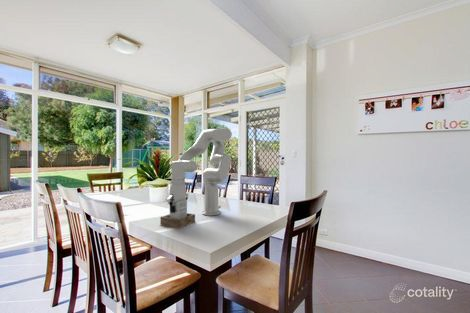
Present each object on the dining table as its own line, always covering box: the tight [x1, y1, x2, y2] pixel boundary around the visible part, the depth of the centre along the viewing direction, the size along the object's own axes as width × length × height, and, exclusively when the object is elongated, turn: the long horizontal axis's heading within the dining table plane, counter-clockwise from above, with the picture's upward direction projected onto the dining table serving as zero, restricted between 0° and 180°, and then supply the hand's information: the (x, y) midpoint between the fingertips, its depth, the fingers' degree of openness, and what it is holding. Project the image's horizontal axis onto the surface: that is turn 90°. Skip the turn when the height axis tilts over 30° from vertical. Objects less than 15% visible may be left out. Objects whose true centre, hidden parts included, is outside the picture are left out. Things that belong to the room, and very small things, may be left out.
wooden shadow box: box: [159, 212, 196, 229], centre depth 130 cm, size 14×14×4 cm
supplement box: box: [169, 199, 188, 220], centre depth 130 cm, size 7×7×13 cm
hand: (178, 210), depth 130 cm, fingers open, 9 cm apart
